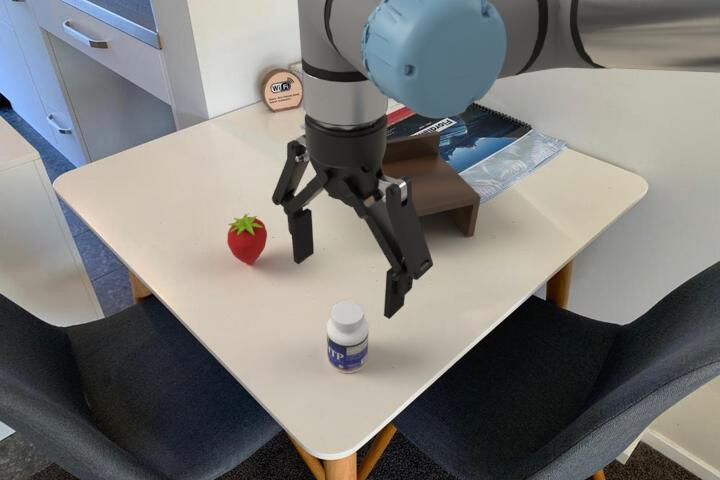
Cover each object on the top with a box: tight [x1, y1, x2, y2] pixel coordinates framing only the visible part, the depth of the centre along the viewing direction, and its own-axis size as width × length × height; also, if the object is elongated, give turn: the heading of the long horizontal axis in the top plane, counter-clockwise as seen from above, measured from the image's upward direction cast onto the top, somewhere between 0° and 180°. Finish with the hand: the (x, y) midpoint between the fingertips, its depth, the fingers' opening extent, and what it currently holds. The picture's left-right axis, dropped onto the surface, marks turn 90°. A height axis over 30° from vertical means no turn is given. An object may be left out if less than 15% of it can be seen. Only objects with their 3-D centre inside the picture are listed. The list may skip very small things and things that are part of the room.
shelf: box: [364, 130, 482, 238], centre depth 89 cm, size 16×14×12 cm
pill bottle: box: [326, 299, 370, 374], centre depth 66 cm, size 5×5×9 cm
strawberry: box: [226, 212, 268, 266], centre depth 80 cm, size 6×8×10 cm
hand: (346, 282), depth 60 cm, fingers open, 13 cm apart
